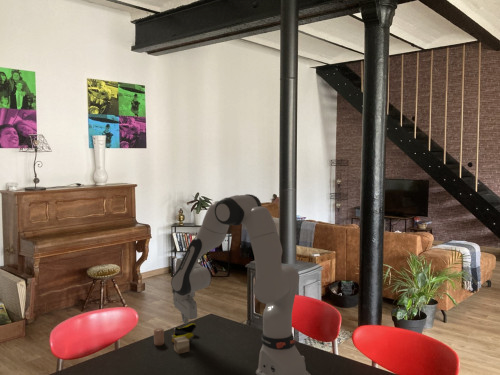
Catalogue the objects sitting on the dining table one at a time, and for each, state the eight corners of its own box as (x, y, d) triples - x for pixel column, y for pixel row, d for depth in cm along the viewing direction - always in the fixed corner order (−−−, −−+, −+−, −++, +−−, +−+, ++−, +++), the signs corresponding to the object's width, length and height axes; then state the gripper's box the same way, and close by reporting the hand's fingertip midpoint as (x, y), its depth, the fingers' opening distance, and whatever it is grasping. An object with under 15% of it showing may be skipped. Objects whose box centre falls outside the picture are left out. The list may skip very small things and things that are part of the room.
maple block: (189, 351, 195) (189, 340, 195) (178, 354, 193) (177, 342, 192) (185, 347, 199) (184, 336, 199) (174, 349, 197) (173, 338, 197)
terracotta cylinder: (165, 344, 203) (165, 330, 202) (155, 346, 201) (155, 332, 200) (162, 340, 207) (162, 327, 206) (152, 342, 204) (152, 329, 204)
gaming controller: (196, 333, 215) (175, 333, 215) (196, 321, 215) (175, 322, 215) (193, 346, 200) (170, 347, 200) (193, 334, 200) (170, 334, 200)
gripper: (200, 297, 199) (200, 329, 200) (183, 285, 217) (183, 314, 218) (187, 300, 196) (187, 331, 197) (170, 287, 213) (171, 316, 214)
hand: (185, 322), depth 207 cm, fingers closed
